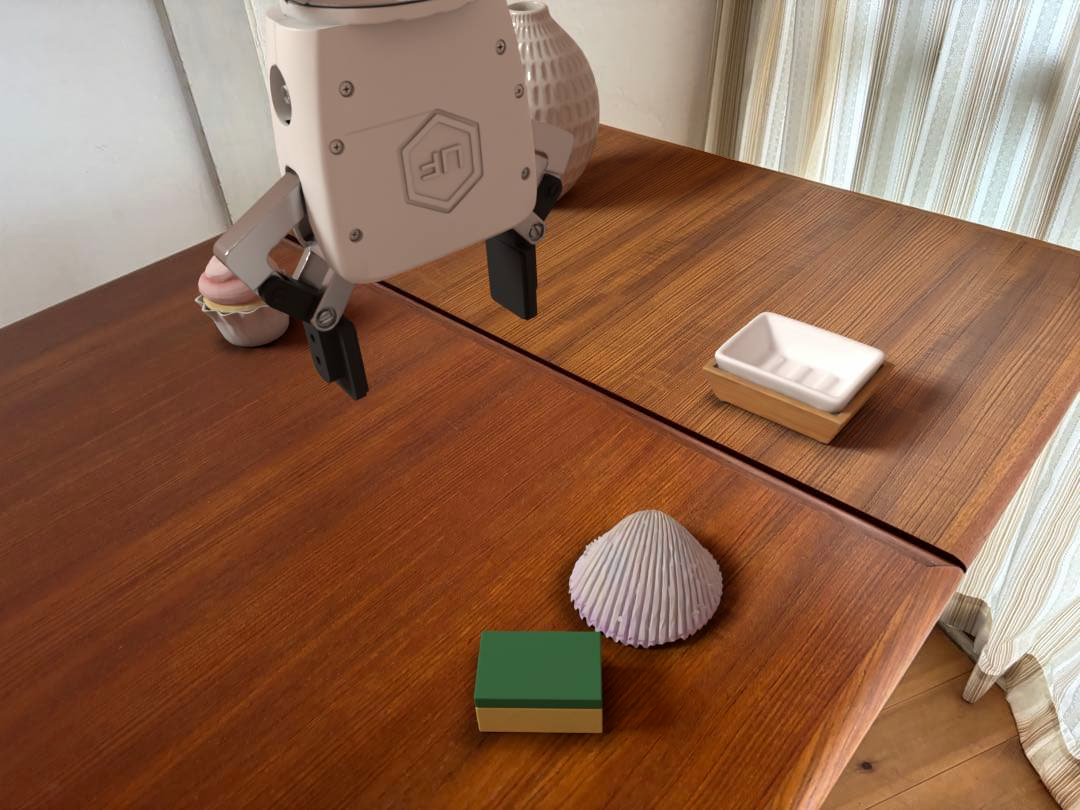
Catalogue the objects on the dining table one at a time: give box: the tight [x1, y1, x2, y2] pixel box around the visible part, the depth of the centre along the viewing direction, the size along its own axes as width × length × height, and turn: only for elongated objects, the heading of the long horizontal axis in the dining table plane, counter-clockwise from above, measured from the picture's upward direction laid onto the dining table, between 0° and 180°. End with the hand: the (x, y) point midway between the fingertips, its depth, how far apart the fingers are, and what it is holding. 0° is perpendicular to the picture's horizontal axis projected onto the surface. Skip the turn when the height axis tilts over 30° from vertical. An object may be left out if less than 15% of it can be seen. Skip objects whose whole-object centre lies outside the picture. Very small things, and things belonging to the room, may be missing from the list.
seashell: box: [568, 509, 724, 649], centre depth 57 cm, size 10×6×10 cm
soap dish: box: [702, 311, 896, 445], centre depth 71 cm, size 12×10×5 cm
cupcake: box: [194, 254, 290, 348], centre depth 82 cm, size 9×9×10 cm
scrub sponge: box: [473, 630, 603, 734], centre depth 50 cm, size 7×5×4 cm, turn 88°
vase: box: [508, 0, 601, 202], centre depth 100 cm, size 16×16×22 cm
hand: (435, 344), depth 41 cm, fingers open, 9 cm apart
